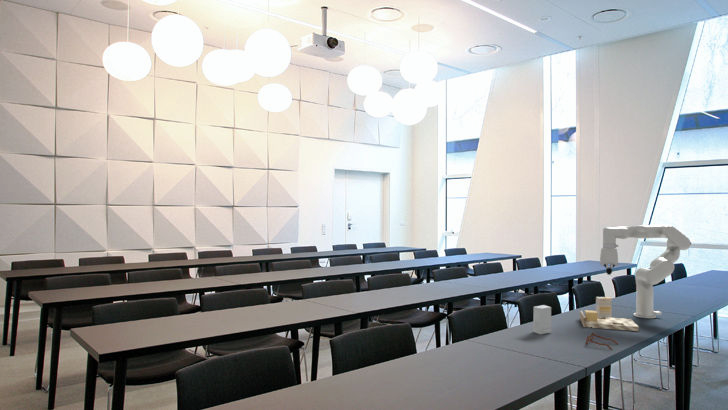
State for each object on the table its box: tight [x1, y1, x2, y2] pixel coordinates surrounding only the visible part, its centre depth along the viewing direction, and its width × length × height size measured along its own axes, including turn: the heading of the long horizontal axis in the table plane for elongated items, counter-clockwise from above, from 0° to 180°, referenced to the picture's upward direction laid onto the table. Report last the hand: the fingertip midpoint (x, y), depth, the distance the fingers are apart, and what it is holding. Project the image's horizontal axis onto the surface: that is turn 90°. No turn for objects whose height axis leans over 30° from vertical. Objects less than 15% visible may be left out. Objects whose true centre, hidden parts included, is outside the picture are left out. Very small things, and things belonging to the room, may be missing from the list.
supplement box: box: [595, 296, 613, 318], centre depth 312 cm, size 8×5×13 cm, turn 84°
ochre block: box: [584, 309, 597, 321], centre depth 296 cm, size 6×6×5 cm
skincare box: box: [532, 304, 552, 335], centre depth 275 cm, size 8×6×15 cm
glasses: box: [585, 332, 619, 350], centre depth 252 cm, size 13×13×5 cm
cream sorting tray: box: [579, 310, 640, 332], centre depth 293 cm, size 29×20×6 cm
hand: (609, 274), depth 317 cm, fingers closed
